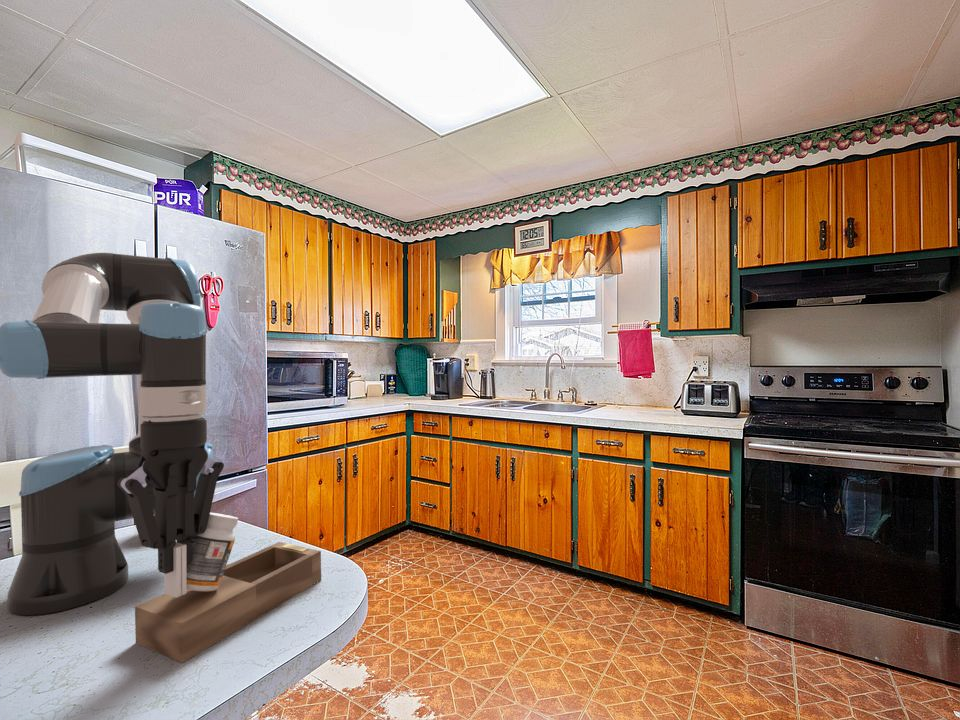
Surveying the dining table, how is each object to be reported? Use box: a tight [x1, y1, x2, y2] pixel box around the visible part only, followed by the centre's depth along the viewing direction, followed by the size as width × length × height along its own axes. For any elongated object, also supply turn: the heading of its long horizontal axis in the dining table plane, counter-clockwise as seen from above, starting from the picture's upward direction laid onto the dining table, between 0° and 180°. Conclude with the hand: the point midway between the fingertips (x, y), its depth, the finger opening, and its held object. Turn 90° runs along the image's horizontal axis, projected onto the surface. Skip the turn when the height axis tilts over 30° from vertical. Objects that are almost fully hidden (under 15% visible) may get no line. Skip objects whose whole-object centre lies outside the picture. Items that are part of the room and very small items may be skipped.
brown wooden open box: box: [134, 541, 322, 663], centre depth 73 cm, size 10×24×5 cm, turn 155°
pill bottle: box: [186, 511, 239, 591], centre depth 68 cm, size 6×6×10 cm
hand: (175, 593), depth 63 cm, fingers closed
